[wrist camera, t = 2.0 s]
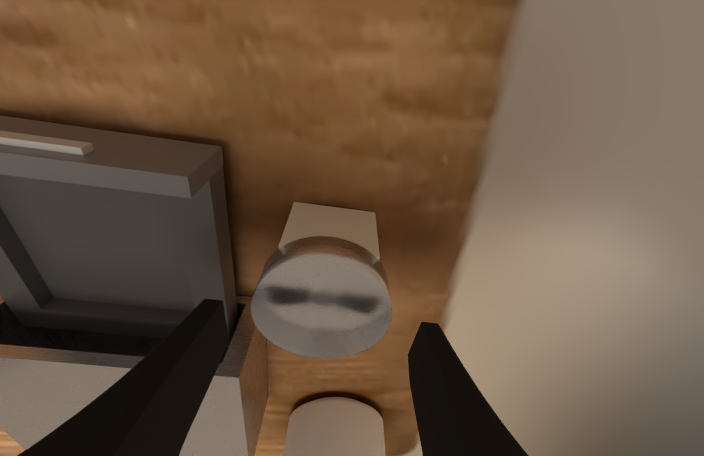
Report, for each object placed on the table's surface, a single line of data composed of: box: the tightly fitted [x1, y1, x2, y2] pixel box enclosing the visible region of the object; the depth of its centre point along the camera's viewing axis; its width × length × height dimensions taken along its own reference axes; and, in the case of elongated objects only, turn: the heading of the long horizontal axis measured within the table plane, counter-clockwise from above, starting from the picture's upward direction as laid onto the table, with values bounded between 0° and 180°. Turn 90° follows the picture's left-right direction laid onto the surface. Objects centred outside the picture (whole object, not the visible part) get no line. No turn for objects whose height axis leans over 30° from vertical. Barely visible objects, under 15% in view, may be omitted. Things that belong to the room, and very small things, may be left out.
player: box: [0, 295, 268, 456], centre depth 19 cm, size 14×12×5 cm
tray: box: [0, 116, 239, 345], centre depth 14 cm, size 11×12×3 cm
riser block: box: [279, 202, 380, 260], centre depth 14 cm, size 4×4×4 cm
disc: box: [251, 236, 392, 358], centre depth 12 cm, size 5×5×2 cm
